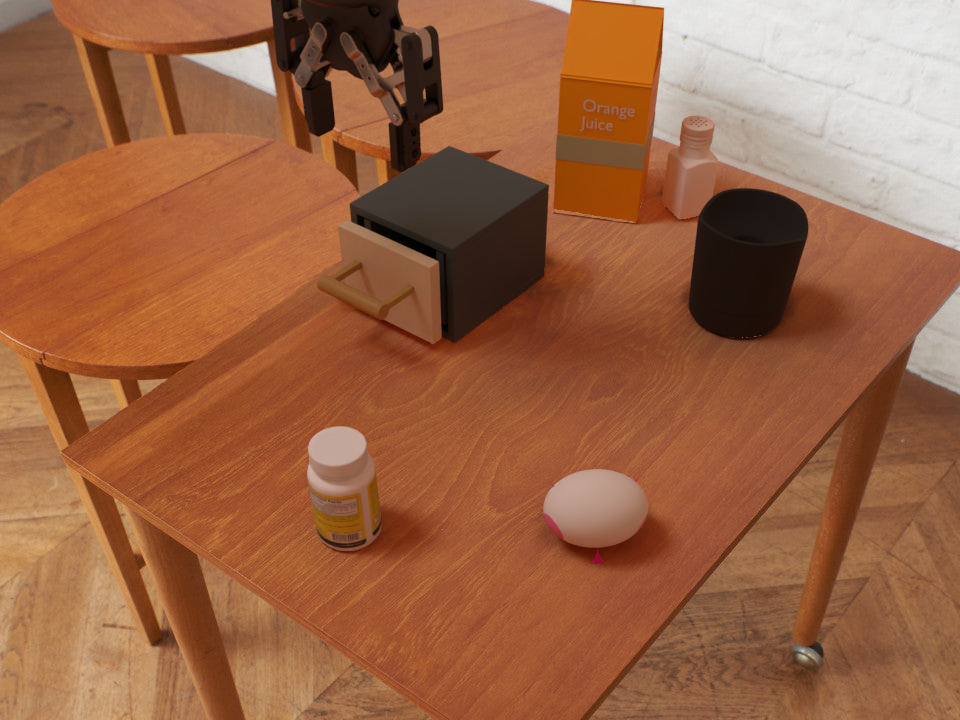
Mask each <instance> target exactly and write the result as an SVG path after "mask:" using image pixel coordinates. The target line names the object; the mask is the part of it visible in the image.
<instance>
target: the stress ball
mask: <svg viewBox="0 0 960 720" xmlns="http://www.w3.org/2000/svg"><path fill="white" fill-rule="evenodd" d="M639 478H640V476H638V477H637V478H636V479H635V480H634V479H633V478H631V477H629V476H628V475H626V474H625V473H621V472H618V471H616V470H615V471H614V470H610V469H603V468H594V469H593V468H592V469H584V470H579V471H576V472H573V473H571V474H568V475H565V476H564V477H563V478H561V479H560V480H558V481H557V482H556V483H555V484H553V483H552V482H549V483H550V485H551V486H552V487H551V488H550V489H549V491H548V492H547V494H546V496H545V498H544V501H543V507H542V511H543V512H542V513H543V517H544V520H545V523H546V525H547V526H548V528H549V530H550V531H551V532H552V533H553V534H555V536H556V537H558V538H559V539H561V540H562V541H564V542H566V543H568V544H571V545H573V546H576V547H577V546H578V547H583V548H590V549H594V548H596V549H597V550H596V554H595V557H594V558H593V560H592V561H591V562H590V564H595V563H606V561H605V560H603V558H602V557H601V556H600V553H599V548H606V547H607V548H608V547H612V546H616V545H618V544H621V543H623V542H625V541H627V540H628V539H630V538H632V537H633V536H635V535H636V534H637V533H638V532H639V531H640V529H642V527H643V526H644V524H645V523H646V520H647V518H648V514H649V501H648V497H647V494H646V492H645V490H644V489H643V488H642V486H640V485H639V483H638V482H637V481H638V480H639Z"/></svg>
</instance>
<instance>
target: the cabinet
mask: <svg viewBox="0 0 960 720" xmlns="http://www.w3.org/2000/svg"><path fill="white" fill-rule="evenodd" d="M549 192H550V185H549V184H547V183H546V182H542V181H540V180H538V179H535V178H533V177H530V176H528V175H525V174H522V173H520V172H518V171H515V170H512V169H509V168H507V167H504V166H502V165H499V164H498V163H495V162H492V161H489V160H487V159H484V158H482V157H479V156H476V155H474V154H473V153H472V154H471V153H469V152H466V151H464V150H461V149H458V148H457V147H453V146H451V145H448V146H446V147H444V148H443V149H441V150H439V151H438V152H436V153H434V154H432V155H431V156H429V157H428V158H425V159H424V160H422V161H420V162H419V163H416V165H415V166H413V167H411V168H409V169H408V170H406V171H404V172H402V173H399V174H398V175H396V176H394V177H393V178H391V179H389V180H387V181H385V182H383V183H382V184H381V185H378V186H377V187H376V188H373V189H372V190H369V191H368V192H366V193H365V194H363V195H361V196H360V197H358V198H356V199H355V200H353V201H351V202H349V214H350V221H351V222H353V223H355V224H357V225H359V226H362V227H364V228H365V226H364V218H367V219H369V220H371V221H373V222H376V223H378V224H380V225H382V226H385V227H387V228H389V229H391V230H394V231H396V232H398V233H400V234H403V235H405V236H407V237H409V238H411V239H414V240H416V241H418V242H420V243H423V244H425V245H427V246H429V247H432V248H434V249H436V250H438V251H440V252H443V253H445V254H446V278H447V311H448V324H446V325H444V324H442V323H441V332H442V338H443V339H445V340H448V341H449V342H452V343H454V344H456V343H457V342H459V341H461V339H463V338H464V337H465V336H467V335H468V334H470V333H471V332H472V331H473V330H475V329H476V328H478V327H479V326H480V325H481V324H483V323H484V322H485V321H487V320H488V319H490V318H491V317H492V316H493V315H495V314H496V313H498V312H499V311H500V310H502V309H503V308H505V307H506V306H507V305H508V304H510V303H511V302H512V301H514V300H515V299H516V298H518V297H519V296H520V295H522V294H523V293H524V292H526V291H527V290H528V289H530V288H531V287H533V285H535V284H536V283H538V282H539V281H541V279H543V278H544V277H545V274H546V257H547V256H546V255H547V254H546V253H547V236H548V235H547V234H548V215H549Z"/></svg>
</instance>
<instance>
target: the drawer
mask: <svg viewBox="0 0 960 720" xmlns="http://www.w3.org/2000/svg"><path fill="white" fill-rule="evenodd" d="M364 226H365V228H364V227H362V226H359V225H357V224H355V223H353V222H351V220H348V219H346V220H344V221H343V222H341V223H339V224H338V225H337V231H338V239H339V247H340V258H341V265H342V268H341V269H339V270H338V271H336V272H335V273H333V274H331V275H328V274H322V275H320V276H319V277H318V279H317V283H316V287H317V289H318V290H319V291H321V292H323V293H325V294H327V295H329V296H331V297H333V298H335V299H337V300H339V301H341V302H343V303H345V304H348V305H349V306H351V307H353V308H355V309H357V310H359V311H362V312H363V313H365V314H367V315H369V316H371V317H374V318H376V319H377V320H379V321H385V322H388V323H390V324H391V325H394V326H396V327H397V328H399V329H402V330H404V331H406V332H408V333H410V334H412V335H413V336H416V337H418V338H420V339H422V340H424V341H426V342H428V343H430V344H432V345H434V344H436V343H437V342H439V341H440V340H441V339H442V338H443V337H442V332H441V323H442V324H444V325H446V324H448V311H447V278H446V254H445V253H443V252H440V251H438V250H436V249H434V248H432V247H429V246H427V245H425V244H423V243H420V242H418V241H416V240H414V239H411V238H409V237H407V236H405V235H403V234H400V233H398V232H396V231H394V230H391V229H389V228H387V227H385V226H382V225H380V224H378V223H376V222H373V221H371V220H369V219H367V218H364ZM343 281H344V282H343Z"/></svg>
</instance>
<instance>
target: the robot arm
mask: <svg viewBox="0 0 960 720" xmlns="http://www.w3.org/2000/svg"><path fill="white" fill-rule="evenodd" d="M399 3H400V0H270V9H271V18H272V27H273V36H274V49H275V59H276V65H277V67H278V69H279V70H280V71H281V72H282V73H287V72H289V73H290V74H292V75H293V76H294V80H295V82H296V84H297V86H299V87H300V90H301V99H302V105H303V113H304V120H305V122H306V125H307V128H308V132H309V134H310V135H313V136H315V137H322V136H323V135H327V133H329V132H331V131H333V130H334V128H335V127H336V116H335V108H334V97H333V88H332V81H331V80H328V79H326V78H328V77H329V75H330V74H331V72H332V70H335V71H337V72H338V71H339V72H344V71H345V72H347V73H349V74H350V75H351V76H353V78H356V79H359V80H363V82H364V84H365V87H366V88H367V90H368V92H369V94H370V95H371V96H372V97H373V98H377V99H378V100H379V101H380V103H381V105H382V106H383V109H384V110H385V113H386V114H387V116H388V118H389V120H390V122H389V123H388V124H387V125H388V138H389V139H388V141H389V154H390V155H389V156H390V167H391V170H393V171H396V172H398V173H399V174H401V173H403V172H405V171H406V170H408V169H410V168H412V167H413V166H415V165H417V164H418V162H419V161H420V160H421V157H422V148H421V147H422V142H421V141H422V139H421V124H423V123H424V122H426V121H427V120H429V119H431V118H433V117H435V116H438V115H440V114H441V113H443V112H444V96H443V94H444V93H443V82H442V80H443V79H442V70H441V66H442V65H441V54H440V53H441V52H440V41H439V40H440V39H439V33H438V31H437V29H436V28H435V27H434V26H433V25H429V24H428V25H427V26H424V27H421V28H415V27H411V26H407V25H405V23H404V22H403V19H402V16H401V14H400V13H401V12H400V10H399ZM293 38H294V48H293V49H292V44H291V43H292V39H293ZM389 64H390V66H391V69H392V70H393V71H392V72H393V74H392V75H389V76H388V77H383V76H382V75H381V74H380V73H382V72H384V71H385V70H386V69H387V68H388V66H389ZM394 89H395V90H397V91H398V93H399V94H400V96H401V98H402V100H403V103H400V100H399V99H398V96H397V95H396V93H395V90H394ZM424 96H425V97H424Z"/></svg>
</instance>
